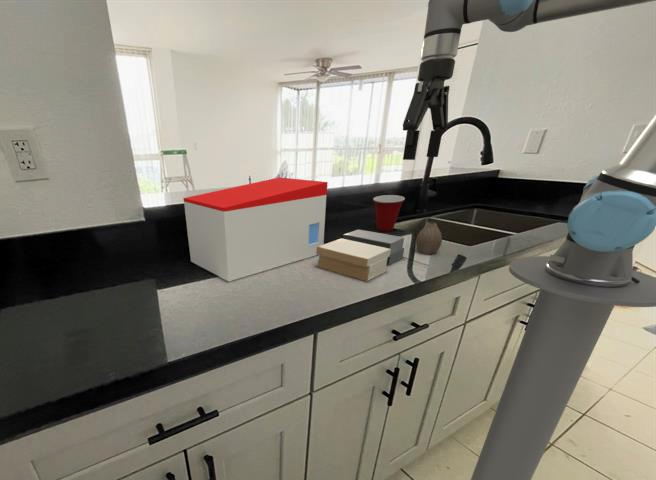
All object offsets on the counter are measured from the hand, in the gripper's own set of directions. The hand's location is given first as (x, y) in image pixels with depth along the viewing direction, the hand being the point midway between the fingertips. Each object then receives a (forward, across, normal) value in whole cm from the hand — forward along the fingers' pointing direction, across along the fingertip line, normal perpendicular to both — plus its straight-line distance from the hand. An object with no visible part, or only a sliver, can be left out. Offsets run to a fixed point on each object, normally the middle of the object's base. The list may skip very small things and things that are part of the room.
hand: (420, 158), depth 87 cm
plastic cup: (+27, -25, -20) cm, 42 cm away
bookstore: (+27, +30, -31) cm, 51 cm away
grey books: (+27, +6, -7) cm, 28 cm away
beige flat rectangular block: (+23, +20, -5) cm, 31 cm away
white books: (+27, +20, -5) cm, 34 cm away
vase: (+27, -8, +3) cm, 28 cm away
